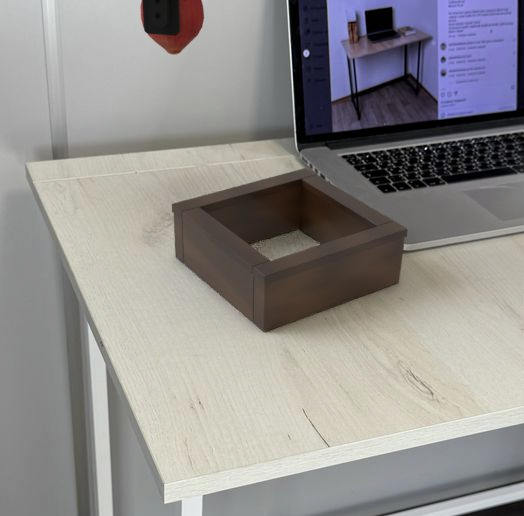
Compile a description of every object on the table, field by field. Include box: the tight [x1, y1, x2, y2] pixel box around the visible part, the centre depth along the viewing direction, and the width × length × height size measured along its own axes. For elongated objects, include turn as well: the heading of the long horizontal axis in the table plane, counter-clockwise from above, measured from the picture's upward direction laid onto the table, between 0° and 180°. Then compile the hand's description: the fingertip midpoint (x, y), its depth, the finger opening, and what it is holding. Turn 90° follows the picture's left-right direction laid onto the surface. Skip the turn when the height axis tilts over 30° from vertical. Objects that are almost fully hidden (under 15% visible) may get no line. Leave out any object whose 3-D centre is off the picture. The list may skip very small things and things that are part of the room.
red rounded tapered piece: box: [140, 0, 205, 56], centre depth 80 cm, size 6×6×8 cm
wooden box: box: [171, 167, 408, 333], centre depth 78 cm, size 15×15×5 cm
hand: (172, 21), depth 81 cm, fingers closed on red rounded tapered piece, 6 cm apart
